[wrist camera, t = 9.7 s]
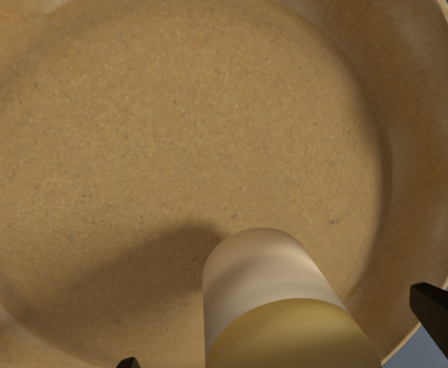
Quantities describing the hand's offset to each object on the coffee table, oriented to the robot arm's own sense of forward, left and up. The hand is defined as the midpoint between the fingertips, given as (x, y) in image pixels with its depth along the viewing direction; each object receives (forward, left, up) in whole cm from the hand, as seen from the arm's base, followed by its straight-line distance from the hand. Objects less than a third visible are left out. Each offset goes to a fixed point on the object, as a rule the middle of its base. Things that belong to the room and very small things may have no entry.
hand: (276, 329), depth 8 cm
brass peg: (0, 0, -2) cm, 3 cm away
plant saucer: (+1, +2, -6) cm, 7 cm away
